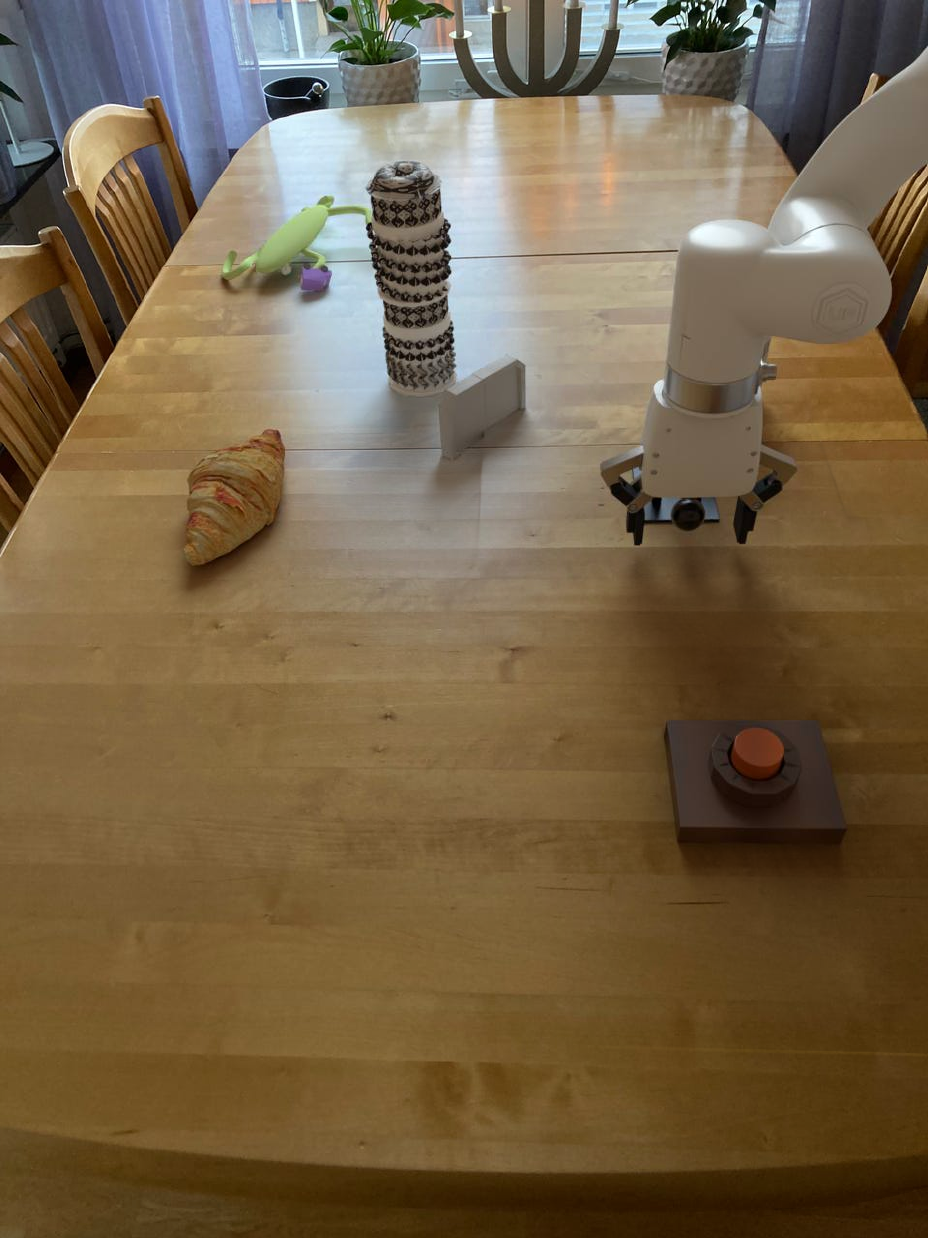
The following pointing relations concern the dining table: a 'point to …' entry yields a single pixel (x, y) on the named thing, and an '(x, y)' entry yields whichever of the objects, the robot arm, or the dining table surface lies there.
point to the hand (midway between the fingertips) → (687, 535)
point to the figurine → (296, 245)
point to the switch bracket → (661, 507)
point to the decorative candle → (412, 277)
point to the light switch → (480, 403)
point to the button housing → (751, 786)
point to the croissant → (233, 496)
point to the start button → (757, 753)
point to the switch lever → (688, 514)
